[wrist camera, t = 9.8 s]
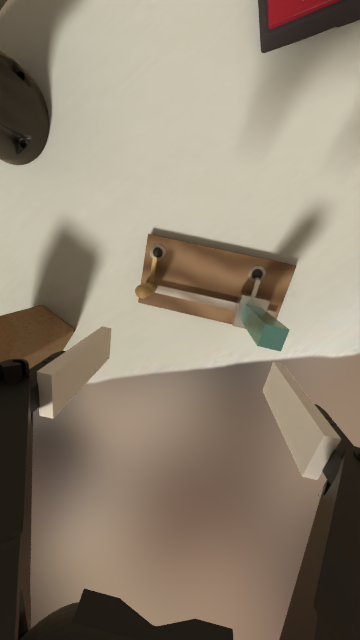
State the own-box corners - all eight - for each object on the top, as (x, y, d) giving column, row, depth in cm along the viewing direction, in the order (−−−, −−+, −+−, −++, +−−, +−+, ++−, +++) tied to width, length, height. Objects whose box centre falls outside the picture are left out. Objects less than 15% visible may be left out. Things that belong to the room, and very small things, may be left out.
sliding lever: (243, 274, 38) (270, 282, 23) (269, 280, 38) (314, 292, 22) (230, 319, 41) (245, 354, 25) (253, 325, 40) (284, 363, 25)
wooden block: (42, 304, 47) (-69, 332, 28) (76, 329, 48) (-8, 373, 29) (26, 333, 50) (-84, 377, 31) (58, 357, 51) (-29, 413, 32)
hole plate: (150, 235, 40) (136, 227, 31) (292, 265, 38) (317, 266, 30) (140, 301, 44) (125, 310, 36) (268, 330, 42) (284, 347, 34)
